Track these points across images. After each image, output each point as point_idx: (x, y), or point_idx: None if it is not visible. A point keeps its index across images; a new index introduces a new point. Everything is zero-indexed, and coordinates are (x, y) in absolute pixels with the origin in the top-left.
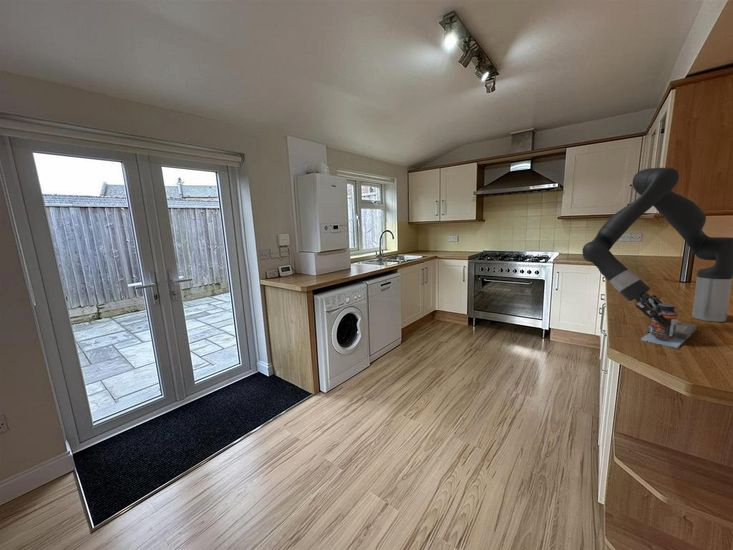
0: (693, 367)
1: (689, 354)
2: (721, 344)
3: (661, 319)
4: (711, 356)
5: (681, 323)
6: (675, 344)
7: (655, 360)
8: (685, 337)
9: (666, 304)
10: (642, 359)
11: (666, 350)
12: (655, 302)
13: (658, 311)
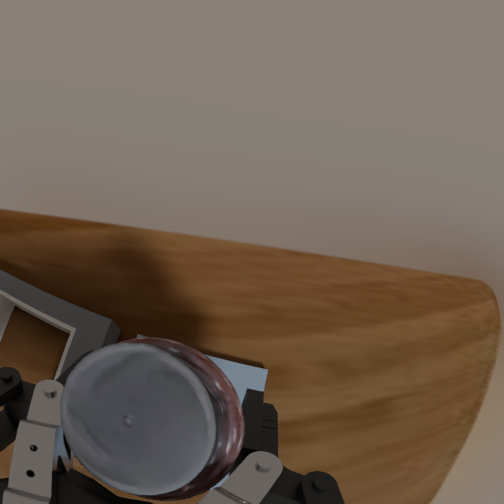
0: (432, 327)
1: (321, 337)
2: (119, 235)
3: (275, 445)
4: (294, 281)
5: None
6: (241, 376)
7: (446, 408)
8: (117, 327)
9: (110, 414)
10: (458, 433)
11: (327, 404)
12: (54, 493)
13: (241, 479)
